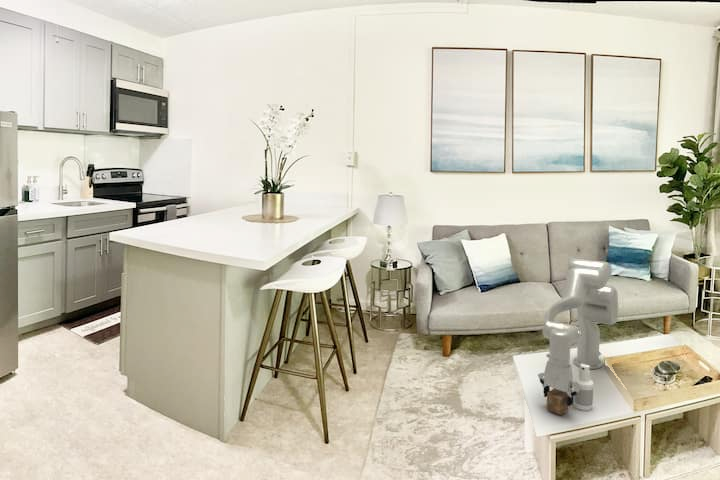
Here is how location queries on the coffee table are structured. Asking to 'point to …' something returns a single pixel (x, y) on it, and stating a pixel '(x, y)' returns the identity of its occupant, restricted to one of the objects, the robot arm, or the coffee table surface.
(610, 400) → the coffee table surface
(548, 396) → the tan wooden cube
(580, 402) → the spray bottle
